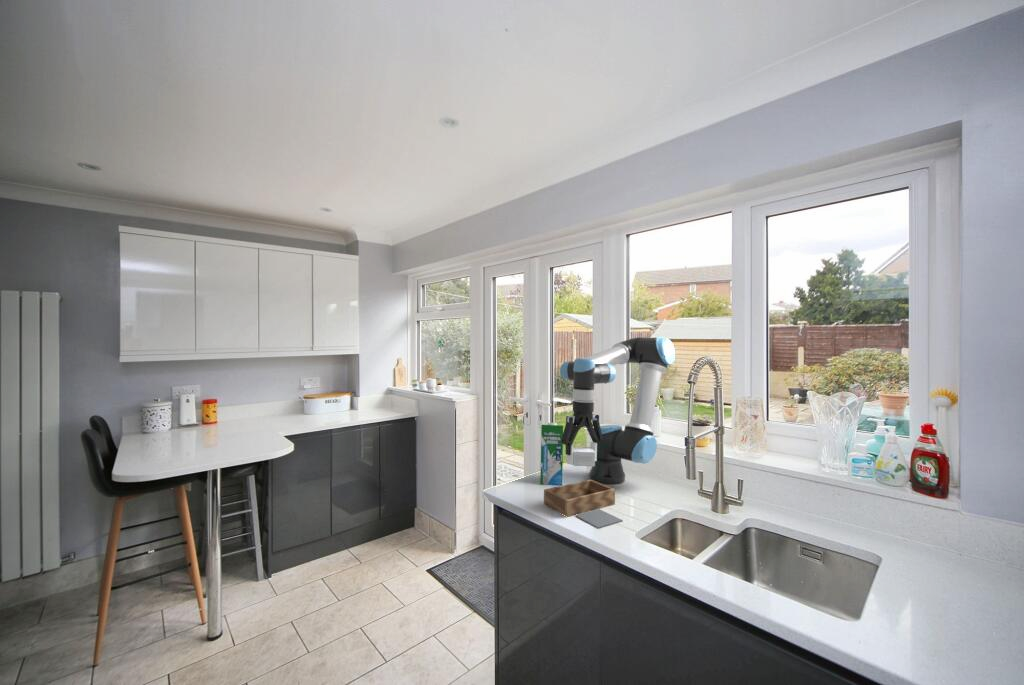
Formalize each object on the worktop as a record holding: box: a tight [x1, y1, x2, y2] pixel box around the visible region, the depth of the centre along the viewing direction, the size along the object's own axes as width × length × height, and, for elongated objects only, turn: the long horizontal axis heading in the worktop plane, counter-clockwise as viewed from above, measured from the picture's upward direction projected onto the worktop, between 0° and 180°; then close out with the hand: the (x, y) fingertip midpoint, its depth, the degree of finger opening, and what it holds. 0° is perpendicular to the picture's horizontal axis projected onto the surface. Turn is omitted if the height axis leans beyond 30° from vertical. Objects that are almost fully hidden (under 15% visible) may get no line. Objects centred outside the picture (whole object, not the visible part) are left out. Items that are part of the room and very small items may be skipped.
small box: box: [573, 446, 595, 467], centre depth 155 cm, size 8×8×5 cm
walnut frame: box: [543, 478, 616, 518], centre depth 157 cm, size 23×13×6 cm, turn 123°
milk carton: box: [539, 422, 564, 486], centre depth 182 cm, size 9×9×25 cm
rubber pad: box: [575, 508, 623, 529], centre depth 144 cm, size 11×11×1 cm
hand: (581, 461), depth 155 cm, fingers closed on small box, 10 cm apart
